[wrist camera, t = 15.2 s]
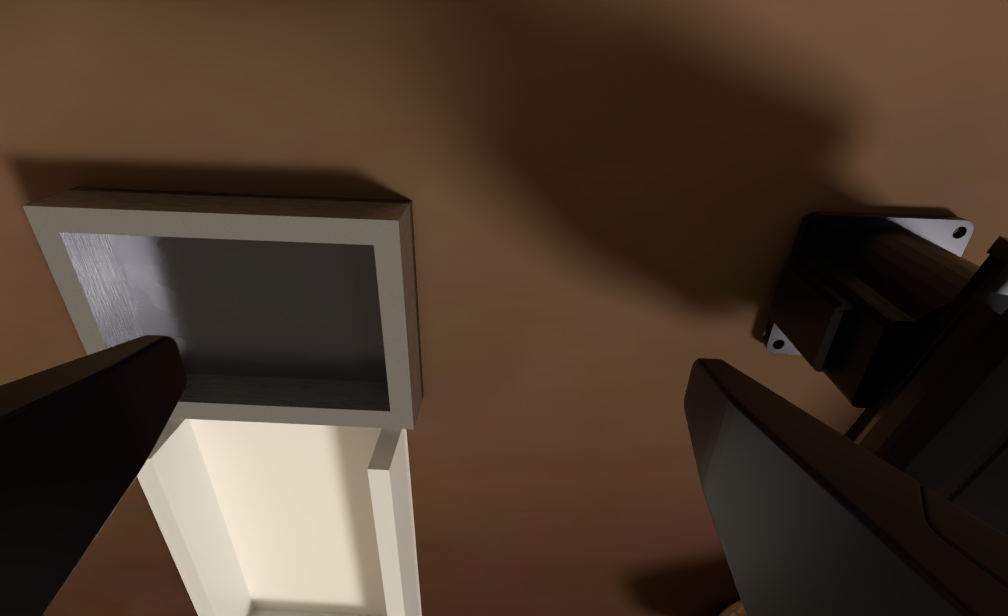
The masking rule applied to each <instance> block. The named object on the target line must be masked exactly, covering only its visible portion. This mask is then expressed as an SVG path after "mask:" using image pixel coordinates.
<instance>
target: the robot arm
mask: <svg viewBox="0 0 1008 616" xmlns="http://www.w3.org/2000/svg"><path fill="white" fill-rule="evenodd" d="M817 221H820V225H819V226H818V227H817V228H816V229H813V230H812V226H813V224H814V223H816V222H817ZM958 227H959V230H958V231H957V232H956V233H955V234H953V232H954V230H955V229H957V228H958ZM973 230H974V227H973V224H972V223H971V222H970V221H968V220H965V219H963V218H959V217H941V216H915V215H889V214H863V213H837V212H812V213H810V214H808V215H807V216H806V217H805V218H804V219H803V220H802V222H801V224H800V228H799V231H798V234H797V237H796V240H795V243H794V246H793V249H792V252H791V256H790V259H789V261H788V262H787V263H786V264H785V265H784V267H783V270H782V274H781V277H780V280H779V283H778V286H777V289H776V293H775V296H774V299H773V302H772V305H771V308H770V311H769V317H770V321H769V324H768V327H767V330H766V334H765V337H764V341H763V343H764V345H765V347H766V348H767V350H768V351H769V352H771V353H774V354H790V355H802V356H803V357H804V358H805V359H806V360H807V362H808V363H809V364H810V365H811V366H812V367H813V369H814V370H815V371H817V372H824V373H825V374H826V375H827V376H828V378H829V379H830V380H831V381H832V382H833V383H834V384H835V386H836V387H837V388H838V389H839V390H840V391H841V392H842V394H843V395H844V396H845V397H846V398H847V399H848V400H849V401H850V403H851V404H852V405H853V406H854V407H858V408H866V409H865V410H864V412H863V413H862V414H861V415H860V417H859V418H858V419H857V420H856V422H855V423H854V424H853V425H852V426H851V428H850V429H849V430H848V431H847V433H846V434H845V435H842V434H841V433H839V432H837V431H836V430H834V429H833V428H831V427H829V426H828V425H826V424H824V423H823V422H821V421H820V420H818V419H816V418H815V417H813V416H812V415H810V414H808V413H807V412H805V411H803V410H802V409H800V408H799V407H797V406H795V405H794V404H792V403H791V402H789V401H787V400H786V399H784V398H782V397H781V396H779V395H778V394H776V393H774V392H773V391H771V390H770V389H768V388H766V387H765V386H763V385H762V384H760V383H758V382H757V381H755V380H753V379H752V378H750V377H749V376H747V375H745V374H744V373H742V372H741V371H739V370H737V369H736V368H734V367H733V366H731V365H729V364H728V363H726V362H724V361H723V360H720V359H706V358H699V359H697V360H696V361H695V362H694V364H693V366H692V369H691V373H690V377H689V381H688V385H687V390H686V394H685V399H684V409H685V414H686V419H687V423H688V428H689V432H690V437H691V441H692V446H693V450H694V455H695V459H696V464H697V468H698V473H699V477H700V481H701V485H702V489H703V492H704V495H705V498H706V502H707V505H708V507H709V510H710V513H711V516H712V519H713V522H714V525H715V527H716V530H717V533H718V536H719V539H720V542H721V545H722V547H723V550H724V553H725V556H726V559H727V562H728V565H729V567H730V570H731V573H732V576H733V579H734V582H735V584H736V587H737V590H738V593H739V596H740V599H741V602H742V604H743V607H744V610H745V613H746V616H1008V238H1004V237H1001V236H999V237H998V239H997V240H996V241H995V242H994V244H993V245H992V246H991V247H990V249H989V250H988V251H987V253H988V254H990V255H989V256H988V258H987V259H986V260H985V261H984V263H983V264H982V265H981V266H980V267H979V266H977V265H975V264H973V263H971V262H969V261H967V260H965V259H963V258H962V257H961V255H962V253H963V251H964V249H965V247H966V245H967V243H968V241H969V239H970V237H971V235H972V233H973ZM777 340H780V342H779V343H777V344H774V345H773V343H774V342H775V341H777ZM186 385H187V373H186V370H185V367H184V364H183V361H182V358H181V355H180V352H179V348H178V345H177V343H176V341H175V340H174V339H173V338H172V337H170V336H162V335H145V336H141V337H138V338H135V339H133V340H130V341H127V342H124V343H121V344H118V345H115V346H113V347H110V348H107V349H104V350H101V351H98V352H95V353H93V354H90V355H87V356H84V357H81V358H78V359H76V360H73V361H70V362H67V363H64V364H61V365H58V366H56V367H53V368H50V369H47V370H44V371H41V372H38V373H36V374H33V375H30V376H27V377H24V378H21V379H19V380H16V381H13V382H10V383H7V384H4V385H1V386H0V616H43V615H44V613H45V612H46V610H47V609H48V607H49V606H50V604H51V603H52V601H53V600H54V598H55V597H56V595H57V594H58V592H59V591H60V589H61V588H62V586H63V585H64V583H65V582H66V580H67V579H68V578H69V576H70V575H71V573H72V572H73V570H74V569H75V567H76V566H77V564H78V563H79V561H80V560H81V558H82V557H83V555H84V554H85V552H86V551H87V549H88V548H89V546H90V545H91V543H92V542H93V540H94V539H95V537H96V536H97V535H98V533H99V532H100V530H101V529H102V527H103V526H104V524H105V523H106V521H107V520H108V518H109V517H110V515H111V514H112V512H113V511H114V509H115V508H116V506H117V505H118V503H119V502H120V500H121V499H122V497H123V496H124V494H125V493H126V492H127V490H128V489H129V487H130V486H131V484H132V483H133V481H134V480H135V478H136V477H137V475H138V474H139V472H140V470H141V469H142V467H143V466H144V464H145V463H146V461H147V459H148V457H149V456H150V454H151V452H152V450H153V448H154V447H155V445H156V443H157V441H158V439H159V437H160V435H161V434H162V432H163V430H164V428H165V426H166V424H167V422H168V421H169V419H170V417H171V415H172V413H173V411H174V409H175V407H176V406H177V404H178V402H179V400H180V398H181V396H182V394H183V393H184V391H185V388H186Z"/></svg>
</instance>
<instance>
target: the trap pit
mask: <svg viewBox="0 0 1008 616" xmlns="http://www.w3.org/2000/svg"><path fill="white" fill-rule="evenodd" d="M23 208H24V210H25V213H26V215H27V217H28V220H29V222H30V224H31V227H32V229H33V231H34V233H35V236H36V238H37V240H38V243H39V245H40V247H41V250H42V252H43V254H44V256H45V259H46V261H47V263H48V266H49V268H50V270H51V273H52V275H53V277H54V279H55V282H56V284H57V286H58V289H59V291H60V293H61V296H62V298H63V300H64V302H65V305H66V307H67V309H68V312H69V314H70V316H71V319H72V321H73V323H74V326H75V328H76V330H77V332H78V335H79V337H80V339H81V342H82V344H83V346H84V349H85V351H86V353H87V355H90V354H93V353H95V352H98V351H101V350H104V349H107V348H110V347H113V346H115V345H118V344H121V343H124V342H127V341H130V340H133V339H135V338H138V337H141V336H145V335H162V336H170V337H172V338H173V339H174V340H175V341H176V343H177V345H178V348H179V352H180V355H181V358H182V361H183V364H184V367H185V370H186V373H187V385H186V388H185V391H184V393H183V394H182V396H181V398H180V400H179V402H178V404H177V406H176V407H175V409H174V411H173V413H172V415H171V417H170V418H177V419H199V420H220V421H242V422H263V423H285V424H306V425H328V426H349V427H371V428H392V429H414V427H415V423H416V420H417V416H418V413H419V409H420V405H421V402H422V398H423V382H422V365H421V348H420V331H419V314H418V298H417V281H416V264H415V247H414V230H413V213H412V201H407V200H381V199H355V198H329V197H303V196H277V195H251V194H225V193H199V192H174V191H148V190H122V189H96V188H73V189H70V190H67V191H64V192H61V193H58V194H55V195H52V196H49V197H47V198H44V199H41V200H38V201H35V202H32V203H29V204H26V205H23Z"/></svg>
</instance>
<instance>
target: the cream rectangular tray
mask: <svg viewBox="0 0 1008 616" xmlns="http://www.w3.org/2000/svg"><path fill="white" fill-rule="evenodd" d="M137 477H138V479H139V482H140V484H141V486H142V488H143V491H144V493H145V495H146V498H147V500H148V502H149V504H150V507H151V509H152V511H153V514H154V516H155V518H156V520H157V523H158V525H159V527H160V529H161V532H162V534H163V536H164V539H165V541H166V543H167V545H168V548H169V550H170V552H171V555H172V557H173V559H174V561H175V564H176V566H177V568H178V571H179V573H180V575H181V577H182V580H183V582H184V584H185V587H186V589H187V591H188V593H189V596H190V598H191V600H192V603H193V605H194V607H195V609H196V612H197V614H198V616H422V613H421V601H420V589H419V577H418V565H417V553H416V540H415V528H414V516H413V504H412V492H411V480H410V468H409V455H408V443H407V431H406V429H392V428H371V427H349V426H328V425H306V424H285V423H263V422H242V421H220V420H199V419H177V418H170V419H169V421H168V422H167V424H166V426H165V428H164V430H163V432H162V434H161V435H160V437H159V439H158V441H157V443H156V445H155V447H154V448H153V450H152V452H151V454H150V456H149V457H148V459H147V461H146V463H145V464H144V466H143V467H142V469H141V470H140V472H139V474H138V475H137Z"/></svg>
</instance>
